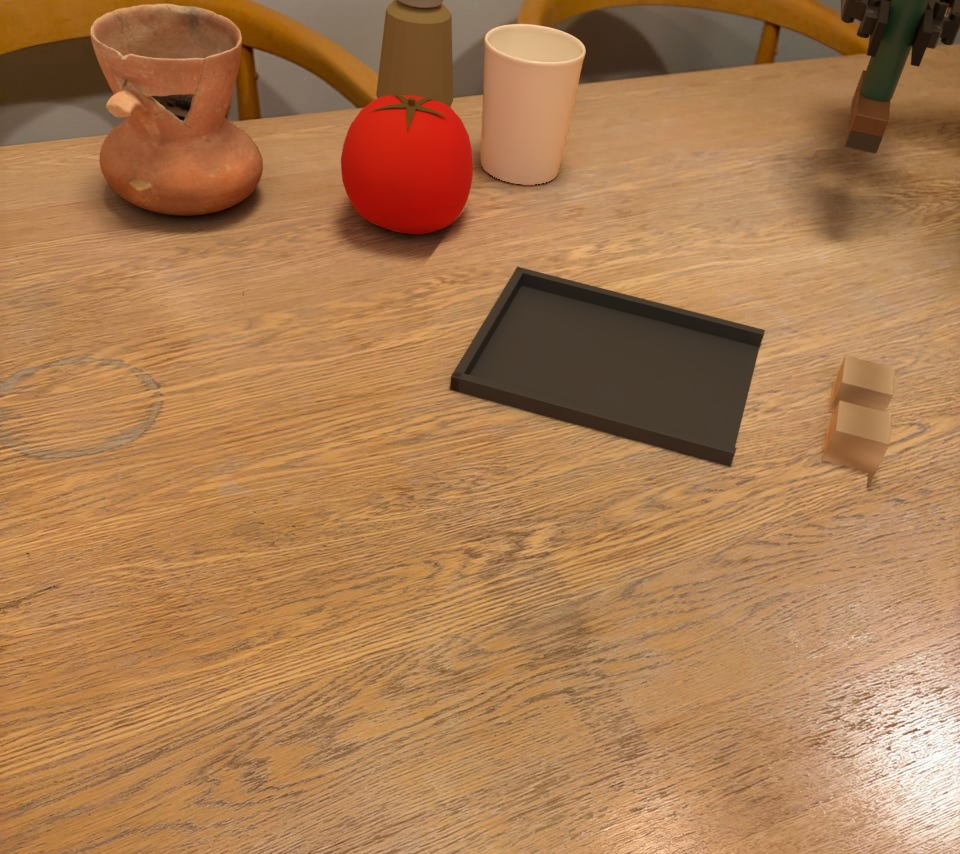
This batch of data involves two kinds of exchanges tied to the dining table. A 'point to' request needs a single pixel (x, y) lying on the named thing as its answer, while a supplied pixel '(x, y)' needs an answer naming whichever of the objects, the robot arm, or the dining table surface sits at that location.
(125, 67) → the ceramic jug
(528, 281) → the tray
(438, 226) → the tomato
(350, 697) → the dining table surface
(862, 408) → the cube
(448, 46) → the squeeze bottle
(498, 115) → the pink cup
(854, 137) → the brush
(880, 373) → the cube
